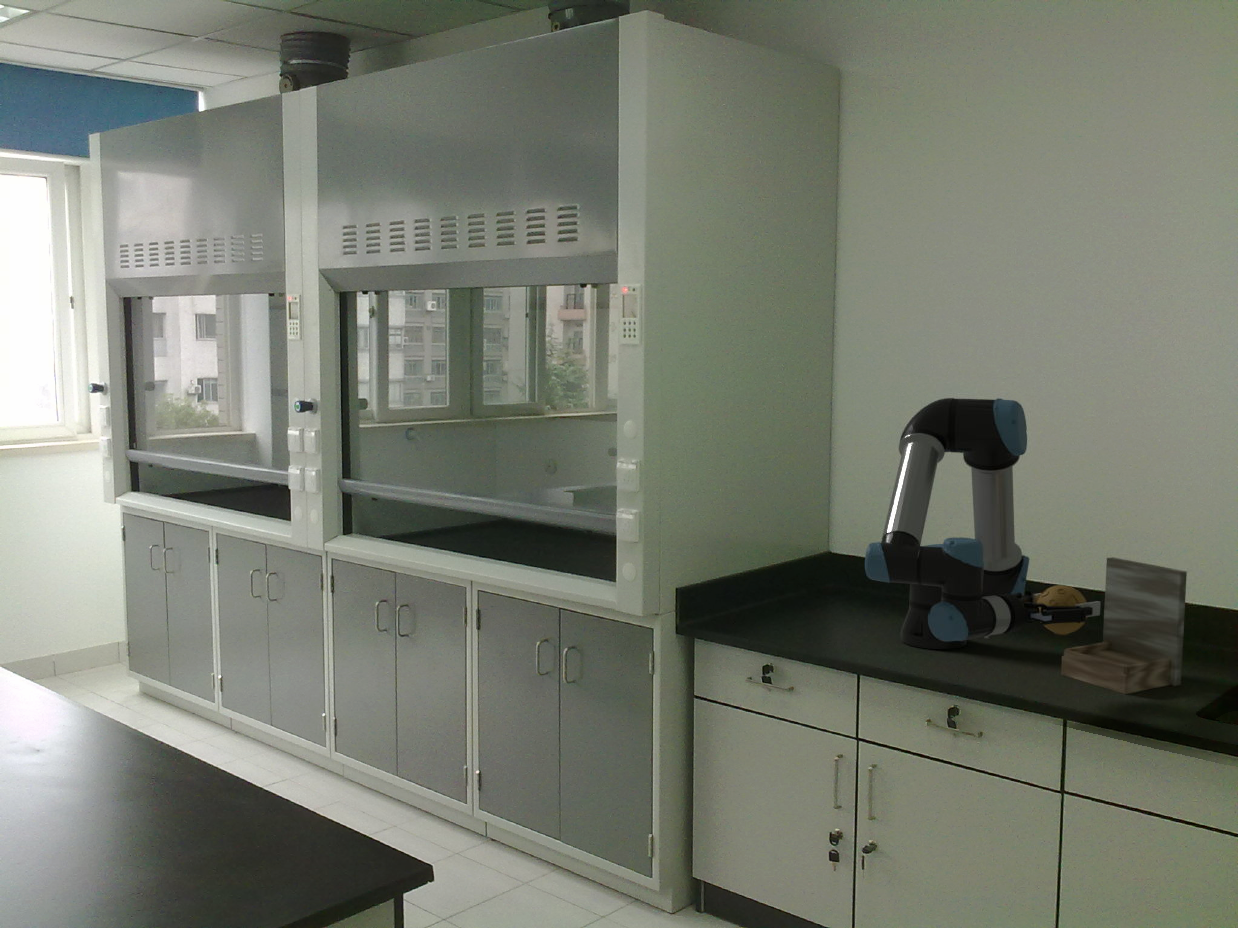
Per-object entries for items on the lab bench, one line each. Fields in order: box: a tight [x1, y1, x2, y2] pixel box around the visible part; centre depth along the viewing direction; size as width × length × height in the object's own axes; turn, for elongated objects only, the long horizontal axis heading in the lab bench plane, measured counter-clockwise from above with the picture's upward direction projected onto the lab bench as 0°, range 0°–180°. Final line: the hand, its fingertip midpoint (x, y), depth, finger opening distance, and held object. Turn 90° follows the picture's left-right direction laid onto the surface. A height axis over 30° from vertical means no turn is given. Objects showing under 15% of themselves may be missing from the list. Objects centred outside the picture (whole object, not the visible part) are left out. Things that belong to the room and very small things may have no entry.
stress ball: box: [1036, 584, 1088, 636], centre depth 236 cm, size 10×10×10 cm
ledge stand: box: [1060, 556, 1188, 695], centre depth 245 cm, size 16×18×24 cm
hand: (1076, 602), depth 238 cm, fingers closed on stress ball, 10 cm apart
